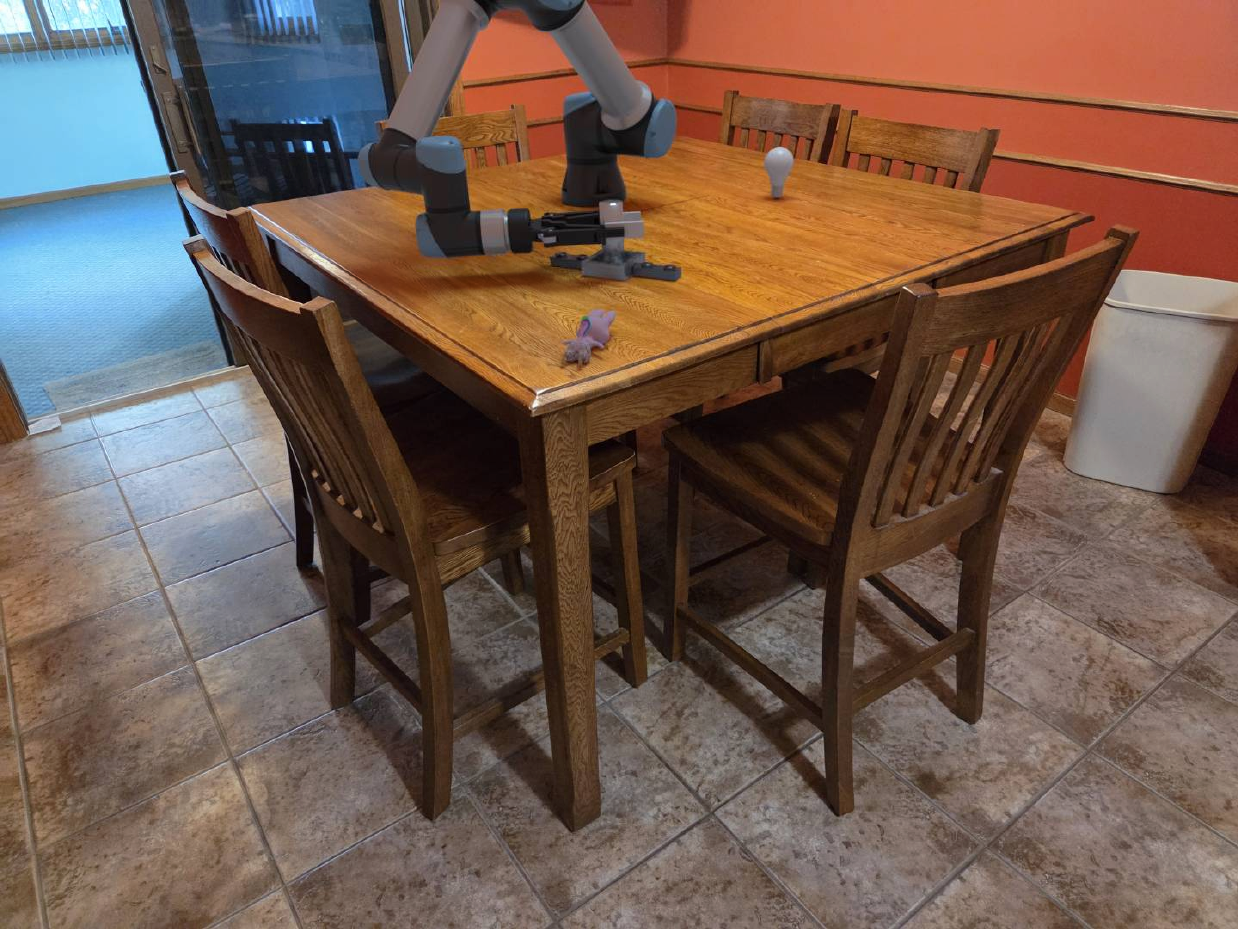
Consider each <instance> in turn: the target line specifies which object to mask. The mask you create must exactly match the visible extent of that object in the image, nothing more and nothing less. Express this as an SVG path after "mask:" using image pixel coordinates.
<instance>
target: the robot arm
mask: <svg viewBox="0 0 1238 929" xmlns="http://www.w3.org/2000/svg"><path fill="white" fill-rule="evenodd" d="M437 1H438V4H439V5H438V6H439V7H438V9H437V12H436V14H435V15H434V18H433V20H432V23H431V25H430V26H429V29H428V32H427V34H426V35H425V38H424V41H423V43H422V45H421V47H420V49H419V52H418V54H417V56H416V58H415V60H414V63H413V64H412V67H411V69H410V71H409V72H408V76H407V78H406V80H405V82H404V84H403V87H402V89H401V91H400V93H399V96H398V98H397V100H396V102H395V105H394V107H393V109H392V111H391V113H390V115H389V119H388V120H387V121H386V125H385V126H384V130H383V132H382V134H381V135H380V138H379V140H378V141H374V142H368V143H367V144H365V145H364V146H363V147H361V149H360V151H359V153H358V156H357V168H358V172H359V175H360V176H361V179H362V180H363V181H364V182H366V184H368V185H370V186H372V187H374V188H377V189H382V190H385V191H389V192H390V191H394V192H404V193H408V194H409V193H410V194H414V195H421V196H423V203H424V207H425V212H423V213H419V214H417V216H416V217H415V224H414V228H415V238H416V242H417V243H416V244H417V247H418V251H419V252H420V254H421V255H422V256H423V257H425V258H428V259H429V258H431V259H432V258H433V259H434V258H438V259H440V258H445V259H452V258H461V257H462V258H465V257H476V256H490V255H491V257H492V258H493V259H494V258H497V257H498V255H508V254H509V251H511V253H512V254H514V255H518V254H530V253H532V252H533V250H534V243H542V244H543V248H547V249H550V248H555V247H569V246H570V247H571V246H594V245H599V246H600V245H601V244H602V245H606V240H612V239H624V240H625V239H626V240H627V239H628V240H629V239H643V238H645V221H644V220H642V212H641V211H639V210H638V211H623V222H610V223H605V225H600V207H599V203H600V202H601V201H604V200H620V201H622V202H624V201H625V200H626V198H627V187H626V184H625V181H624V178H623V175H622V172H621V170H620V169H621V168H620V167H619V164H618V156H625V157H626V156H627V157H628V156H629V157H636V158H643V159H646V160H649V159H659V158H661V157H664V156H665V155H666V154H667V153H668V152H669V151H670V149H671V147H672V144H673V142H674V140H675V136H676V131H677V122H678V121H677V112H676V108H675V105H674V104H673V102H672V101H670V100H668V99H666V98H659V99H658V98H656V97H655V94H654V92H652V90H651V88H650V87H649V86H648V84H647V83H645V82H643V81H641V80H637V79H636V78H635V77H634V76H633V73H632V72H631V71H630V69H629V67H628V66H627V64H626V62H625V61H624V60H623V58H622V56H621V55H620V53H619V51H618V49H617V47H616V46H615V45H614V43H613V42H612V40H611V38H610V37H609V35H608V33H607V32H606V31H605V29H604V27H603V25H602V24H601V22H600V21H599V19H598V17H597V16H596V14H595V13H594V11H593V10H592V8H591V6H590V5H589V3H588V1H587V0H437ZM504 10H506V11H508V10H511V11H512V10H514V11H515V10H518V11H519V10H520V11H521V12H522V13H524V14H525V16H526V17H527V19H528V20H529V21H530V23H531V25H532V26H533V27H534V29H536V30H537V31H539V32H541V33H545V34H546V33H549V34H550V35H549V36H551V38H552V39H553V41H555V44H556V45H557V46H558V48H559V49H560V50H561V51H562V53H563V54H564V56H565V58H566V59H567V61H568V62H569V63H570V65H571V66H572V68H573V69H574V70H575V72H576V74H577V75H578V76H579V77H580V79H581V81H583V83H584V84H585V86H586V87H587V89H588V90H589V91H588V90H587V91H584V92H583V91H582V92H578V93H573V94H569V95H567V96H565V98H564V99H563V102H562V107H563V108H562V111H563V112H562V113H563V114H562V119H563V120H562V121H563V130H564V131H563V132H564V142H565V144H564V146H565V154H566V155H565V156H566V169H565V173H564V176H563V182H562V186H561V190H560V194H561V201H562V203H564V204H566V205H571V206H574V207H599V208H598V209H594V210H582V211H581V210H580V211H565V212H564V211H563V212H549V211H548V212H545V213H543V215H541V217H539V218H533V219H532V216H531V212H530V209H529V208H527V207H517V208H509V209H508V210H507V211H505V209H503V208H495V209H485V210H484V209H481V210H480V209H479V210H472V208H471V202H470V201H471V200H470V194H469V193H470V192H469V186H468V176H467V163H466V160H465V157H464V152H463V146H462V143H461V141H460V139H459V138H457V137H455V136H454V135H453V136H451V135H434V136H433V134H434V132H435V129H437V128H436V127H437V125H438V124H439V121H440V119H441V116H442V114H443V112H444V109H445V107H446V105H447V102H448V101H449V98H450V97H451V94H452V92H453V90H454V88H455V86H456V82H457V81H458V78H459V76H460V74H461V71H462V70H463V67H464V65H465V63H466V61H467V59H468V56H469V55H470V52H471V50H472V47H473V46H474V43H475V41H476V39H477V36H478V34H479V32H480V31H485V30H486V29H487V28H488V26H489V24H490V22H491V20H492V18H493V17H494V16H495V15H496V14H497V13H498V12H500V11H504ZM605 226H606V228H605Z"/></svg>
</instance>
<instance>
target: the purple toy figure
mask: <svg viewBox="0 0 1238 929" xmlns="http://www.w3.org/2000/svg"><path fill="white" fill-rule="evenodd" d="M616 316H617V311H615V310H610V311H608V312H606V310H605V309H602V308H601V309H598V308H597V309H593V310H591V311H590V312H589V313H588V314H587V315H584V316H582V318H581V321H580V325H579V328H578V329H577V330H576V331H575V336H576V339H569V340H564V341H563V342H562V344H563V345H564V346H567V345H568V346H567V348H566V351H564V352H563V355H562V356H561V357H562V358H561V359H562V360H561V364H560V366H562V365H563V366H568V364H567V362H566V360H567V361H568V362H569V361H570V362H569V363H574V362H577V363H578V364H577V367H580V368H581V369H582V368H584V366H583V363H584V364H587V363H589V361H590V359H591V355H592V351H591V350H592V348H594V347H593V346H597V347H599V349H601V350H604V349H605V346H604V345H603V344H606V342H608V340H610V337H611V336H610V331H609V329H610V327H611V326H612V324H613V323H614V321H615V319H616ZM573 361H574V362H573ZM586 362H587V363H586Z"/></svg>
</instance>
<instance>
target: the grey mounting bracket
mask: <svg viewBox="0 0 1238 929" xmlns="http://www.w3.org/2000/svg"><path fill="white" fill-rule="evenodd" d="M624 254H625V263H623V264H614V263H606V262H602V248H600V249H599V250H598V251H596V252H594V253H593V254H591V255H590V256H588V254H586V253H585V254H584V253H581V254H570V253H569V254H568V252H565V251H558V252H556V253H554V254H553V255H551V256H549V261H550V266H551V265H552V267H558V266H559V267H558V268H567V269H574V270H575V269H576V270H581V274H582V277H590V278H591V277H592V278H599V279H607V280H615V281H621V282H622V281H623V282H626V281H627V280H628V279H630V278H632V277H638V276H642V277H641V278H646V277H649V278H648V279H654V278H656V279H655V280H663V281H671V282H676V281H678V280H679V279H680V278H681V277H682V267H681V266H680V267H679V266H677V265H675V264H664V265H662V264H655V263H653V262H651V261H646V252H640V251H632V250H625V249H624ZM629 277H630V278H629Z"/></svg>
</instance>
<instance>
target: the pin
mask: <svg viewBox="0 0 1238 929" xmlns="http://www.w3.org/2000/svg"><path fill="white" fill-rule="evenodd" d="M623 202H624V201H620V200H604V201H601V202H600V203H599V206H598V207H599V208H600V225H605V223H610V222H623V212H624V203H623ZM605 228H606V226H605ZM600 245H601V246H600V247H601V249H602V262H606V263H614V264H623V263H625V254H624V250H625V239H612V240H606V245H602V244H600Z"/></svg>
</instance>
